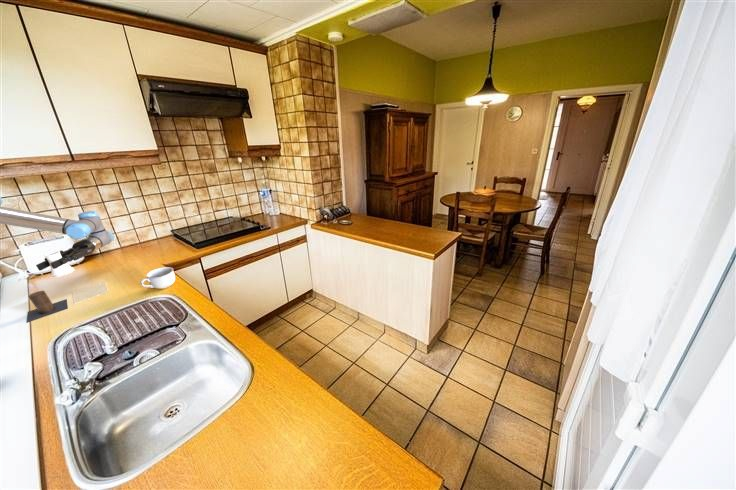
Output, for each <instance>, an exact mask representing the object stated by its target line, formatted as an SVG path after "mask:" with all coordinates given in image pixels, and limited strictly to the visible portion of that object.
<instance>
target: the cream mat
mask: <svg viewBox="0 0 736 490" xmlns="http://www.w3.org/2000/svg"><path fill="white" fill-rule="evenodd" d="M107 293H110V292H109V289H108V286H107V284H106V282H105V281H102V282H99V283H96V284H92V285H88V286H85V287H84V288H80V289H77V290H74V291H72V292H71V294H72V295H71V296H72V300H73V304H74V305H75V304H78V303H81V302H84V301H88V300H90V299H92V298H96V297H98V296H101V295H105V294H107Z"/></svg>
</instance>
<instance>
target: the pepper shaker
mask: <svg viewBox="0 0 736 490" xmlns="http://www.w3.org/2000/svg"><path fill="white" fill-rule="evenodd" d="M27 297H28V298H29V300H30V301H31V303H32V304H33V306H34V307H35V309H37V310H38V312H39V313H40V314H46V313H49V312H51V311H53V310H55V307H54V305H53V302H52V300H51V299H50V297H49V296H48V294H47V292H46V291H45V290H38V291H35V292H32V293H30V294H29V295H28V296H27Z"/></svg>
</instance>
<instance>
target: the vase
mask: <svg viewBox="0 0 736 490" xmlns="http://www.w3.org/2000/svg"><path fill="white" fill-rule="evenodd" d="M59 251H60V250H59ZM59 251H52V252H49V253H46V254H44V258H46V259H47V260H48V262H49V263H52V262H54V261H56V260H58V259H60V258H62V256H61V254H60V252H59ZM49 267H50V271H51V272H50V276H51V277H52V278H57V277H63V276H66V275H69V274H71V273H73V272H75V270H76V269H75V267H74V266H71V265H70V264H69V263H68V262H67V263H65V264H63V265H61V266H60V267H58V268H56V269H53V267H52V266H51V264H50V266H49Z"/></svg>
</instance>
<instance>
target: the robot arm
mask: <svg viewBox="0 0 736 490" xmlns="http://www.w3.org/2000/svg"><path fill="white" fill-rule="evenodd" d="M2 205H3V198H2V197H1V196H0V225H1V224H2V225H6V226H7V225H8V226H14V227H20V228H25V229H32V230H37V231H45V232H49V233H55V234H63V235H67V236H68V237H69V238H71V239H74V240H78V241H76V242H74V243H73V244H72V246H71V247H70V248H68V249H67V250H62V249H61V250H59V252H60V254H61V256H62V258H60V259H58V260H56V261H54V262H52V263H49V262H48V260H47V259H46V257H44V261H41V262H40V263H37V264H36V265H35V266H36V268H37V269H38V270H39V271H43V270H45V269H47V268H48V267H51V266H52V267H53V269H56V268H58V267H60V266H61V265H63V264H65V263H67V264H68V263H69V262H72V261H75V262H76V261H78V260H79V259H82V258H84V257H85V256H89V255H90V254H92V253H93V252H94V253H95V252H96V251H98V250H100V249H101V248H103V247H105V246H107V245H109V244H110V243H112V242H113V241H114V239H115V235H114V233H112V232H111V231H110V230H107V229H106V228H105V225H104V224H103V222H102V221H103V220H102V219H101V216H100V215H99V213H98V212H97V211H95V210H87V211H83V212H79V213H78V214H77V218H78V220H75V219H71V218H67V217H66V218H65V217H59V216H55V215H50V214H45V213H39V212H34V211H27V210H23V209H17V208H12V207H6V206H2ZM50 264H51V266H50Z"/></svg>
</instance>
